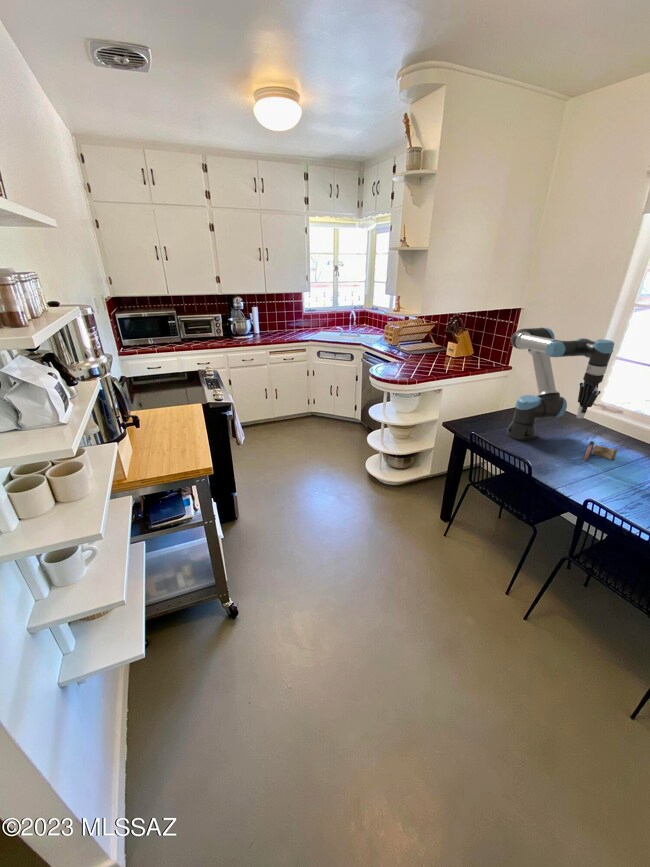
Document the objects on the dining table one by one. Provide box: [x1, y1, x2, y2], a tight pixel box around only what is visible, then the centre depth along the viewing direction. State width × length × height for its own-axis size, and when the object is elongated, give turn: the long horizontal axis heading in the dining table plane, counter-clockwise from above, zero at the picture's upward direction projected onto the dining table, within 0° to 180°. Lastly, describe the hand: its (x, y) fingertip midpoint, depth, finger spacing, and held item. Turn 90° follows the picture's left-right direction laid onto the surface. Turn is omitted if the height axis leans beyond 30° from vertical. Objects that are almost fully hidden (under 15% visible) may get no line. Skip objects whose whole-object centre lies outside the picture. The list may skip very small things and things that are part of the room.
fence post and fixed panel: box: [588, 440, 618, 461], centre depth 185 cm, size 12×2×6 cm, turn 43°
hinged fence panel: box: [583, 445, 594, 462], centre depth 185 cm, size 9×1×6 cm, turn 138°
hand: (579, 417), depth 183 cm, fingers closed
